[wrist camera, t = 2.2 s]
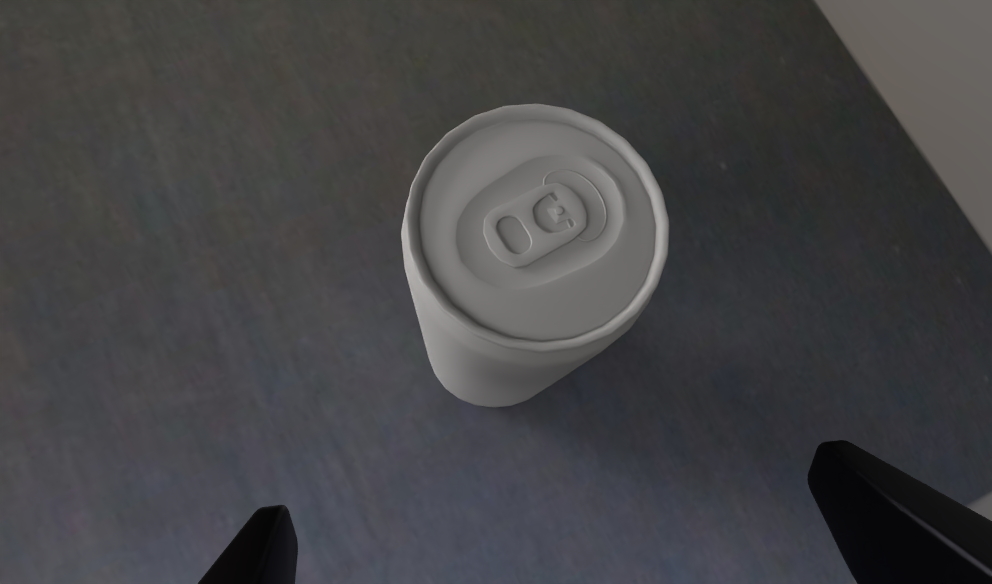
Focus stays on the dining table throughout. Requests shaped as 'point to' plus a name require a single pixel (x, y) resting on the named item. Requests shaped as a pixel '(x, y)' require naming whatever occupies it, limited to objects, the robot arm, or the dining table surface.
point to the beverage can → (529, 249)
